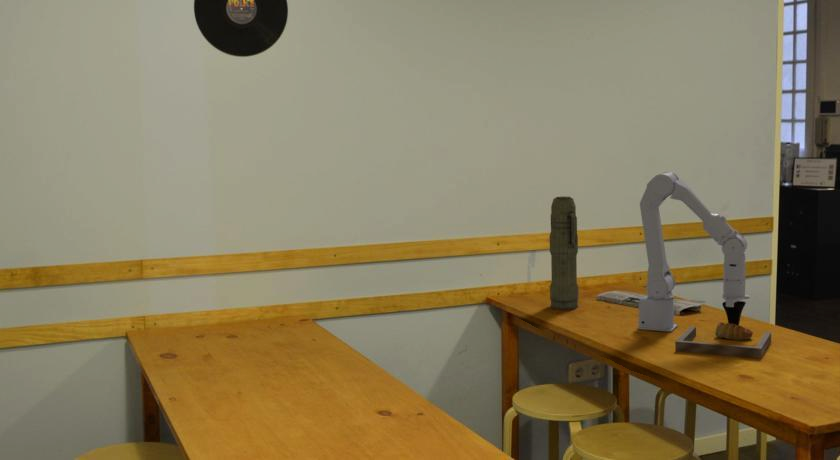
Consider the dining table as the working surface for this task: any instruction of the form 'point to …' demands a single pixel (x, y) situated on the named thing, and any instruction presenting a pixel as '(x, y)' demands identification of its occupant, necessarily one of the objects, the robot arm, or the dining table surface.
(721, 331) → the pastry
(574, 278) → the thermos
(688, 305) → the newspaper
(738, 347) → the grey u-shaped frame
